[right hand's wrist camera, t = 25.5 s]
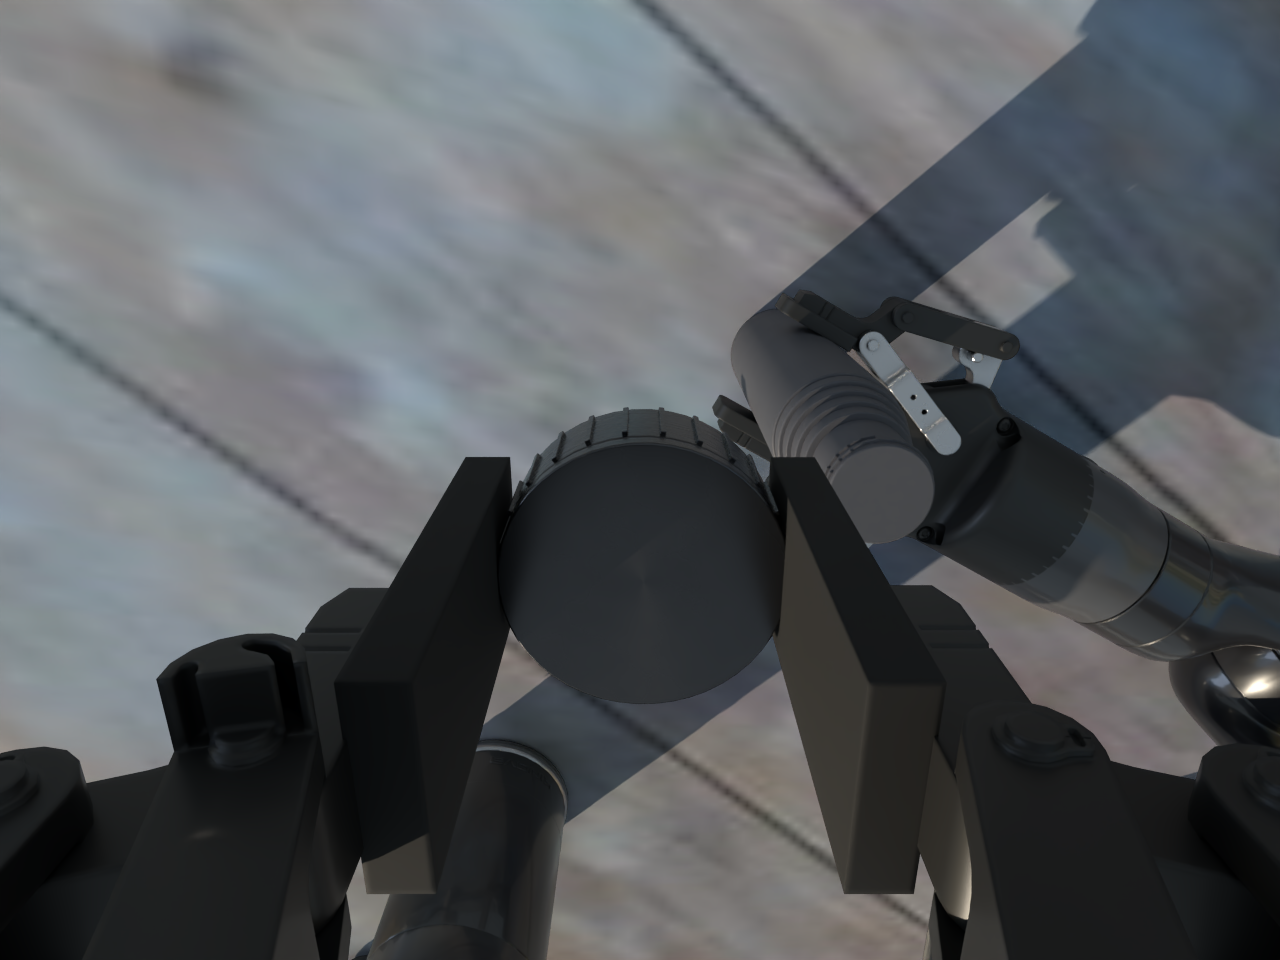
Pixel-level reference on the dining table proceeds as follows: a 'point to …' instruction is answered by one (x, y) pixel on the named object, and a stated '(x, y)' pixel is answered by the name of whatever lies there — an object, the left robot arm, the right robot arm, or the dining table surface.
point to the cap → (642, 558)
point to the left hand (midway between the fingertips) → (749, 355)
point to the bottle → (834, 423)
